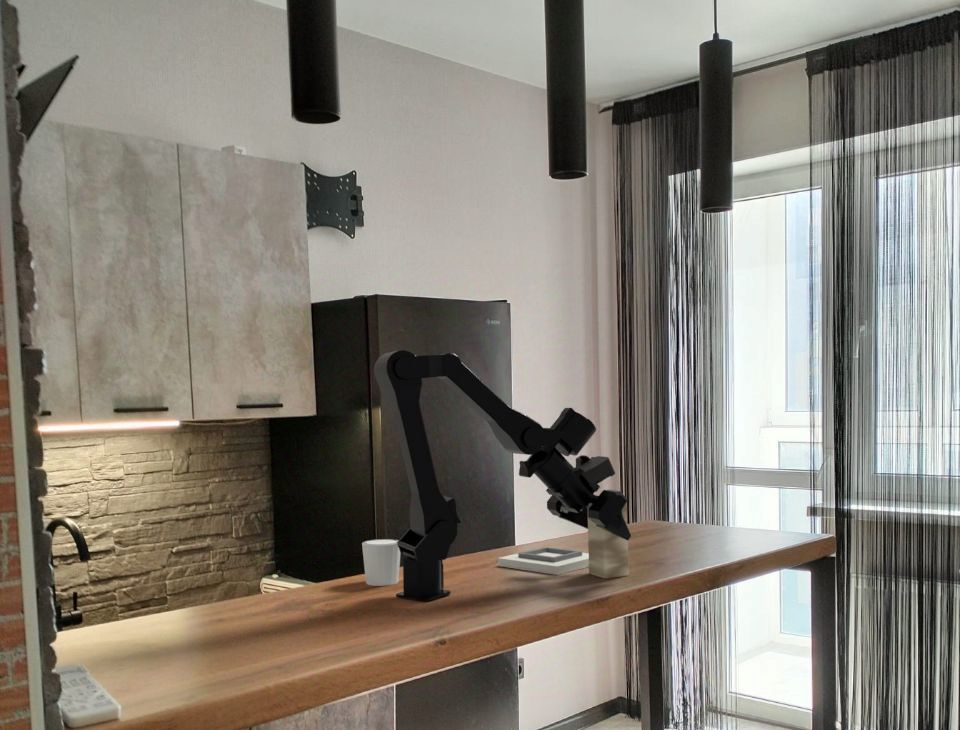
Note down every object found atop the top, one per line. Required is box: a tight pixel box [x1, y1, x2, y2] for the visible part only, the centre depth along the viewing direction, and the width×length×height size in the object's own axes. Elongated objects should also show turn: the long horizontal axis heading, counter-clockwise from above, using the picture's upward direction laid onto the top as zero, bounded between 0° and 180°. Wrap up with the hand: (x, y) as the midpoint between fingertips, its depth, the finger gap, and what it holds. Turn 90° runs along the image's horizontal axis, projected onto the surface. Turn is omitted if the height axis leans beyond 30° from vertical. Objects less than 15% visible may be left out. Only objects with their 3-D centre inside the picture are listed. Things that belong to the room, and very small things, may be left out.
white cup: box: [361, 538, 401, 587], centre depth 147 cm, size 7×7×7 cm
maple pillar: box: [587, 501, 630, 579], centre depth 150 cm, size 5×5×13 cm
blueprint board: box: [497, 546, 589, 576], centre depth 160 cm, size 14×14×2 cm
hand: (614, 534), depth 150 cm, fingers open, 9 cm apart
